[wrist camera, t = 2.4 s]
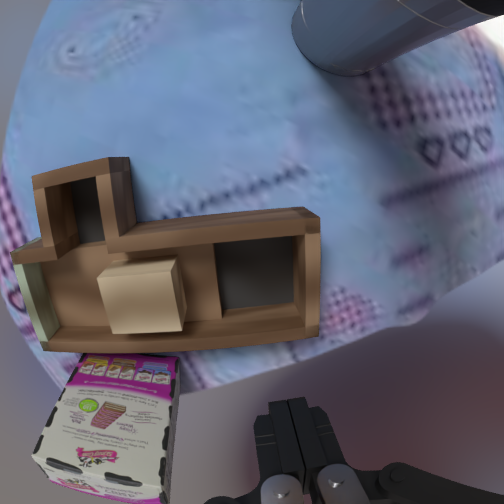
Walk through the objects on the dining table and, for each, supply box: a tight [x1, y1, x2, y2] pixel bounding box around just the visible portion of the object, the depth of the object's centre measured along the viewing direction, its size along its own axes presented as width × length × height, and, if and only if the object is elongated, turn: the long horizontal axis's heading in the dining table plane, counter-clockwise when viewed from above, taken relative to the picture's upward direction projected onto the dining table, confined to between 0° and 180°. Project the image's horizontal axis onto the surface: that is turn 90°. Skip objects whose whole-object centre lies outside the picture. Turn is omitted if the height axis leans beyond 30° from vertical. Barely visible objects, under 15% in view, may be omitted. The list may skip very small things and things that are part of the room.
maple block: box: [97, 254, 187, 334], centre depth 23 cm, size 5×6×4 cm
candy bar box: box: [32, 353, 180, 504], centre depth 23 cm, size 11×5×16 cm, turn 85°
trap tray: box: [10, 157, 321, 353], centre depth 24 cm, size 16×27×5 cm, turn 94°
